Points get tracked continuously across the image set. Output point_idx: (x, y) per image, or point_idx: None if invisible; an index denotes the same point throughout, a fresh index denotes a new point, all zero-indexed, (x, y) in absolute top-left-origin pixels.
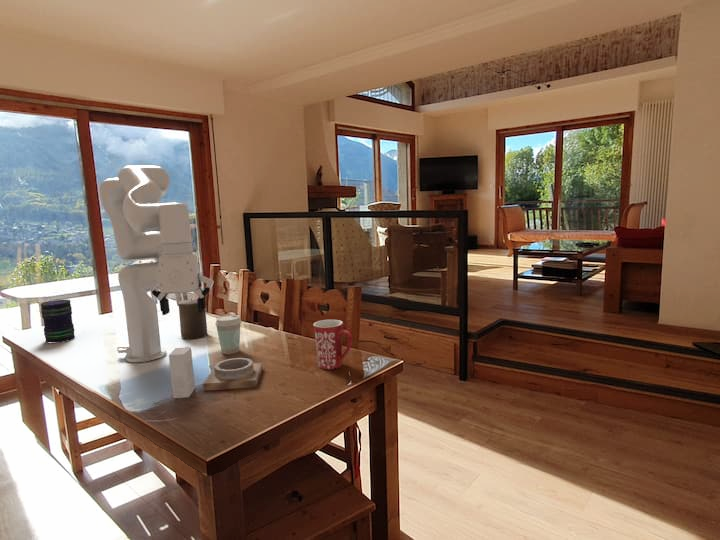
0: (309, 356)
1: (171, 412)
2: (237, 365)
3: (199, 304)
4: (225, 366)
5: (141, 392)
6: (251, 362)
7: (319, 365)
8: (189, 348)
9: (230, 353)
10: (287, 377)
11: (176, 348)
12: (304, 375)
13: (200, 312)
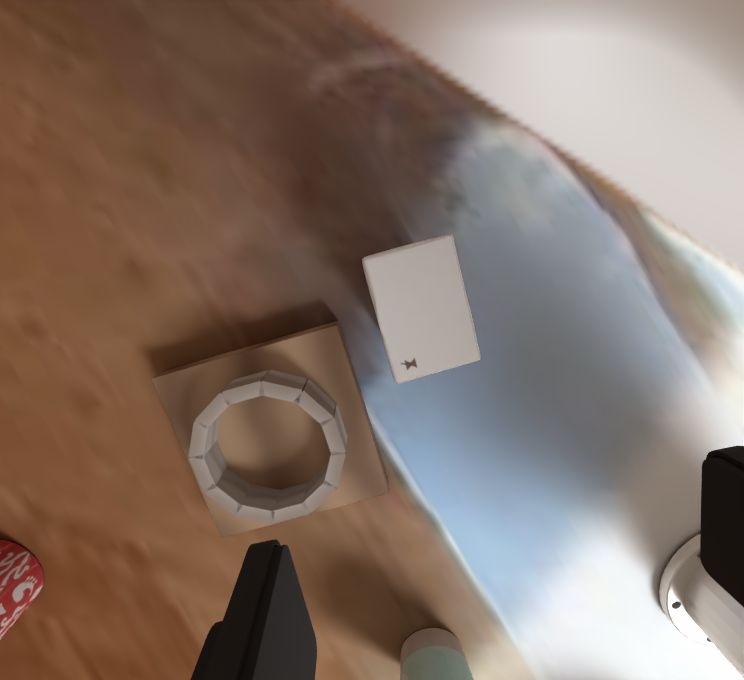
0: (119, 639)
1: (354, 131)
2: (290, 490)
3: (225, 651)
4: (326, 469)
5: (563, 280)
6: (203, 480)
7: (20, 556)
8: (392, 361)
9: (418, 632)
10: (100, 461)
11: (470, 351)
12: (49, 483)
13: (258, 543)
